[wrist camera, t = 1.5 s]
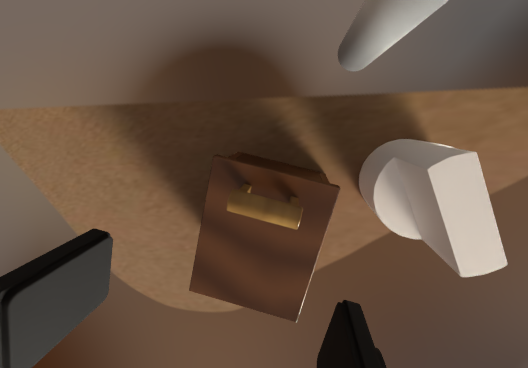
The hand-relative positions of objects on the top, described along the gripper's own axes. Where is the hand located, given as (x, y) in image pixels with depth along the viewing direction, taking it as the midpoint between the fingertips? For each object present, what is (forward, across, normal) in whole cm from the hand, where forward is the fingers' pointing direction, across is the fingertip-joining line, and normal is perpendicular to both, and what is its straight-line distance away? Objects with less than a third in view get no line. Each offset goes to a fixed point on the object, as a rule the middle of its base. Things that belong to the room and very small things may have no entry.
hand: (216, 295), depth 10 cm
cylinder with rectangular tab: (+22, -14, -4) cm, 26 cm away
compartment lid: (+13, -1, +4) cm, 13 cm away
